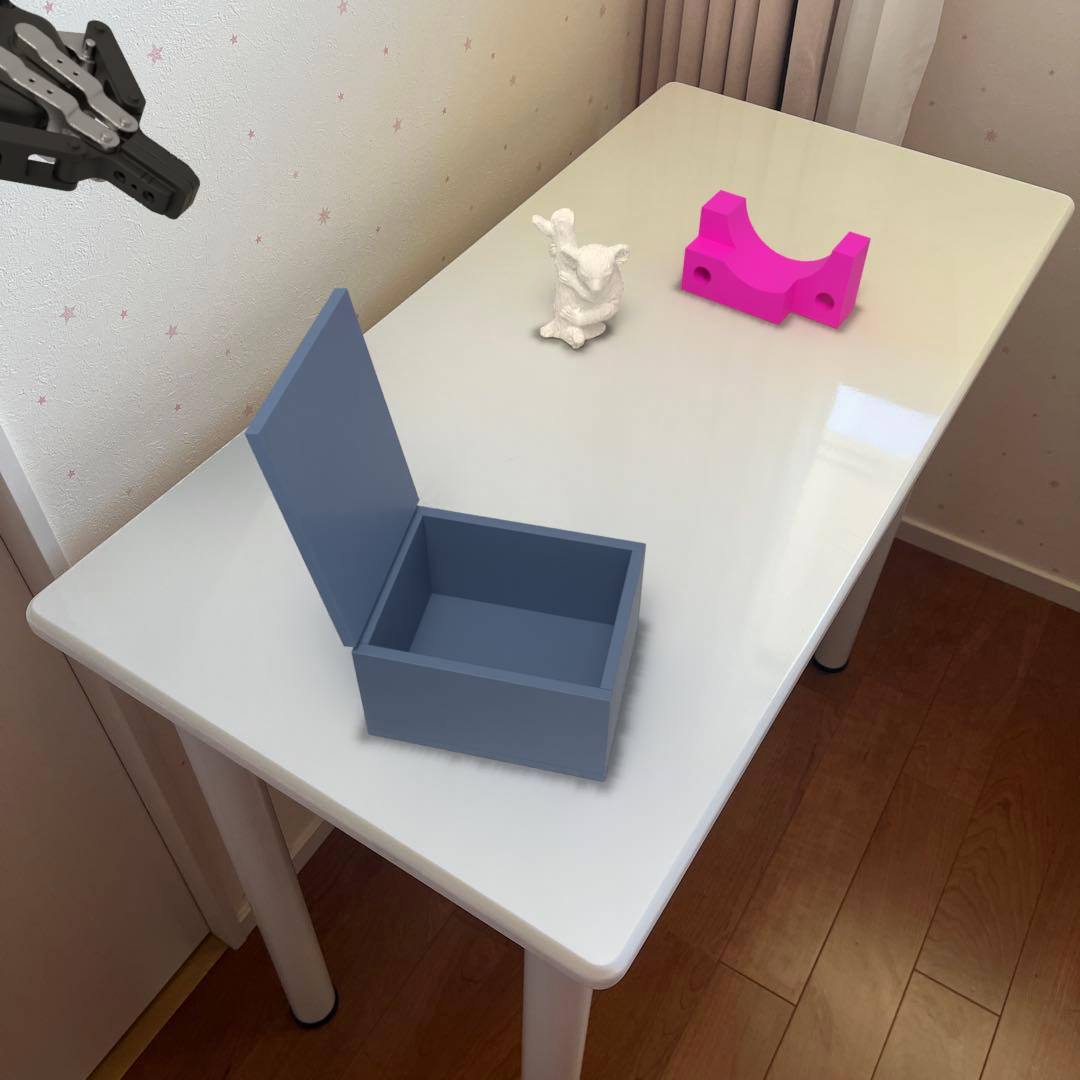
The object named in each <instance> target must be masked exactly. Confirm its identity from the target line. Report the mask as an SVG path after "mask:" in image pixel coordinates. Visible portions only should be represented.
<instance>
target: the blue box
mask: <svg viewBox="0 0 1080 1080" xmlns="http://www.w3.org/2000/svg"><path fill="white" fill-rule="evenodd" d="M646 550H647V544H646V543H645V542H639V541H634V540H628V539H623V538H622V539H621V538H615V537H610V536H603V535H597V534H591V533H585V532H579V531H572V530H568V529H561V528H555V527H551V526H550V527H549V526H543V525H539V524H538V525H537V524H532V523H527V522H519V521H514V520H513V521H512V520H507V519H502V518H501V519H500V518H495V517H488V516H483V515H477V514H473V513H472V514H471V513H465V512H459V511H453V510H447V509H441V508H435V507H430V506H423V505H419V504H418V505H417V507H416V509H415V512H414V514H413V516H412V519H411V521H410V523H409V525H408V528H407V530H406V532H405V535H404V537H403V539H402V542H401V544H400V546H399V548H398V551H397V553H396V555H395V558H394V560H393V562H392V565H391V567H390V569H389V571H388V574H387V576H386V578H385V581H384V583H383V585H382V588H381V590H380V592H379V595H378V597H377V599H376V601H375V604H374V606H373V608H372V611H371V613H370V615H369V618H368V620H367V622H366V624H365V627H364V629H363V631H362V634H361V636H360V638H359V641H358V643H357V645H356V647H352V649H351V652H350V653H351V657H352V662H353V666H354V672H355V677H356V682H357V686H358V691H359V695H360V700H361V705H362V710H363V714H364V715H363V716H364V720H365V725H366V729H367V734H368V735H371V736H377V737H381V738H386V739H391V740H397V741H401V742H406V743H411V744H416V745H421V746H426V747H430V748H435V749H440V750H446V751H450V752H454V753H455V752H456V753H460V754H466V755H470V756H476V757H481V758H486V759H491V760H495V761H500V762H506V763H510V764H515V765H521V766H524V767H529V768H535V769H541V770H545V771H550V772H554V773H555V772H556V773H560V774H565V775H570V776H575V777H579V778H584V779H590V780H595V781H599V782H605V780H606V775H607V771H608V766H609V762H610V757H611V753H612V749H613V748H612V747H613V744H614V738H615V734H616V729H617V726H618V720H619V716H620V712H621V707H622V704H623V703H622V702H623V698H624V694H625V689H626V684H627V679H628V676H629V675H628V674H629V670H630V667H631V662H632V657H633V652H634V647H635V643H636V638H637V635H638V629H639V619H640V609H641V599H642V590H643V580H644V570H645V559H646Z"/></svg>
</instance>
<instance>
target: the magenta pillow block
mask: <svg viewBox="0 0 1080 1080" xmlns="http://www.w3.org/2000/svg"><path fill="white" fill-rule="evenodd" d="M871 239H872V238H871V237H869V236H866V235H864V234H863V235H862V234H860V233H857V232H854V231H848V233H846V235H845V236H844V237H842V239H841V240H840V241H839V242H838V243H837V244H836V245H835V247H834V248H833V249H832V250H831V253H830V254H829V255H827V256H825V257H822V258H819V259H814V260H798V259H793V258H789V257H787V256H785V255H782V254H780V253H778V252H777V251H775V250H774V249H772V248H771V247H769V245H767V243H766V242H765V241H764V240H763V239H762V238H761V237H760V236H759V234H758V233H757V231H756V230H755V228H754V226H753V224H752V222H751V219H750V216H749V211H748V207H747V197H745V196H741V195H738V194H735V193H733V192H730V191H726V190H723V189H719V190H718V191H717V192H716V193H715V194H714V195H713V196H712V197H711V198H710V199H708V201H706V202H705V203H704V204H703V205H702V206H701V208H700V215H699V226H698V234H697V236H696V237H695V238H694V239H693V240H692V241H691V242H690V243H688V244H687V246H686V247H685V248H684V255H683V265H682V275H681V282H680V283H681V284H680V290H682V291H685V292H688V293H689V294H692V295H695V296H698V297H701V298H704V299H706V300H709V301H712V302H715V303H717V304H720V305H723V306H726V307H728V308H731V309H734V310H736V311H740V312H741V313H745V314H748V315H750V316H752V317H753V316H754V317H756V318H758V319H761V320H764V321H767V322H769V323H772V324H775V325H778V326H780V325H781V323H782V322H783V321H784V320H785V319H786V318H787V317H788V316H789V314H791V313H793V314H795V315H798V316H801V317H804V318H807V319H810V320H813V321H814V322H817V323H820V324H823V325H827V326H829V327H832V328H834V329H839V327H840V326H841V325H842V324H843V322H844V321H845V320H846V319H847V318H848V317H849V316H850V314H851V313H852V311H853V310H854V309H855V304H856V301H857V296H858V293H859V289H860V285H861V280H862V276H863V273H864V268H865V264H866V260H867V256H868V252H869V248H870V243H871Z"/></svg>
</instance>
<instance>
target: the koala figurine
mask: <svg viewBox="0 0 1080 1080" xmlns="http://www.w3.org/2000/svg"><path fill="white" fill-rule="evenodd" d="M575 217H576V216H575V213H574V211H573V210H571V209H570V208H568V207H562V208H561V209H557V210H555V211H554V212H553V213H552V215H551V217H550V220H548V219H546V218H545V217H543V216H541V215H540V214H534V215H532V217H531V223H532V224H533V225H534V227H535V228H537V230H539V232H541V233H543V234H544V235H545V236H546V237H548V238H550V239H551V241H552V242H551V243H550V244H549V247H548V252H549V255H550V257H552V258H554V260H553V261H554V268H555V272H556V278H555V286H554V287H555V297H554V301H553V305H552V308H553V313H554V318H553V319H552V320H551V321H549V322H548V323H547V324H545V325H543V326H542V327H541V328H539V334H540V336H541V337H542V338H556V339H560V340H562V341H564V342H565V343H567V344H568V345H570V346H571V347H572V349H574V350H577V349H579V348H581V347H582V346H584V344H585V341H586V340H588V341H589V340H591V339H594V338H596V337H599V336H600V335H602V334H603V333H604V332H605V331H606V329H607V326H606V324H605V323H604V322H602V321H607V320H609V319H611V318H612V317H613V316H614V315H615V314H616V313H617V311H618V310H619V308H620V306H621V303H622V299H623V294H624V281H623V277H622V274H621V270H620V268H619V267H621V266H624V265H625V264H626V263H627V262H628V260H629V258H630V255H631V248H630V246H629V245H628V244H622V243H617V244H615V245H610V246H606V245H604V244H602V243H597V242H595V243H589V244H587V245H586V244H584V245H582V246H581V247H578V246H579V245H578V244H579V243H578V241H577V236H576V234H577V233H576V232H577V231H576V221H575V220H576V219H575Z"/></svg>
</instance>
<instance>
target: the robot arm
mask: <svg viewBox="0 0 1080 1080" xmlns="http://www.w3.org/2000/svg"><path fill="white" fill-rule="evenodd" d="M146 104H147V100H146V98H145V96H144V94H143V92H142V90H141V87H140V85H139V84H138V82H137V80H136V76H135V75H134V73H133V71H132V69H131V67H130V65H129V63H128V61H127V59H126V57H125V55H124V53H123V50H122V49H121V47H120V45H119V43H118V41H117V39H116V36H115V34H114V33H113V30H112V29H111V27H110V26H109V25H108V24H106V23H104V22H103V21H101V20H97V19H91V20H89V21H88V22H87V24H86V28H85V32H74V31H64V30H63V31H62V30H57V29H56V27H55V25H53V23H51V22H50V21H49V20H48V19H47V18H45V17H43V16H41V15H39V14H37V13H33V12H31V11H28V10H25V9H23V8H21V7H19V6H17V5H15V4H14V3H13V2H12V1H11V0H0V181H6V182H11V183H17V184H22V185H26V186H27V185H28V186H33V187H39V188H45V189H51V190H56V191H62V192H73V191H75V190H76V189H77V187H78V185H79V182H82V181H86V180H91V181H92V182H96V183H104V182H108V183H109V184H111V185H113V186H114V187H115V188H117V189H118V190H119V191H121V192H122V193H124V194H126V195H127V196H128V197H130V198H131V199H134V201H136V202H137V203H139V204H141V205H142V206H143V207H145V208H146V209H147V210H149V211H150V212H153V213H155V214H158V215H161V216H165V217H166V218H168V219H169V220H174V221H175V220H178V219H179V217H181V215H183V214H184V213H185V212H186V211H187V210H188V209H189V208H191V206H193V204H194V202H195V199H196V197H197V195H198V192H199V189H200V188H201V180H200V178H199V177H198V175H197V174H196V173H195V171H194V170H193V169H192V167H191V166H190V165H189V163H186V162H185V161H183V160H182V159H181V158H178V156H176V155H175V154H173V153H171V151H169V150H168V149H167V148H165V147H164V146H162V145H160V144H159V143H157V142H156V140H154V139H153V138H150V137H149V136H147V134H145V132H143V130H142V128H141V125H140V124H141V120H142V117H143V114H144V110H145V107H146ZM33 155H36V156H38V157H39V158H41V159H43V161H39V160H34V159H29V157H31V156H33Z"/></svg>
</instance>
